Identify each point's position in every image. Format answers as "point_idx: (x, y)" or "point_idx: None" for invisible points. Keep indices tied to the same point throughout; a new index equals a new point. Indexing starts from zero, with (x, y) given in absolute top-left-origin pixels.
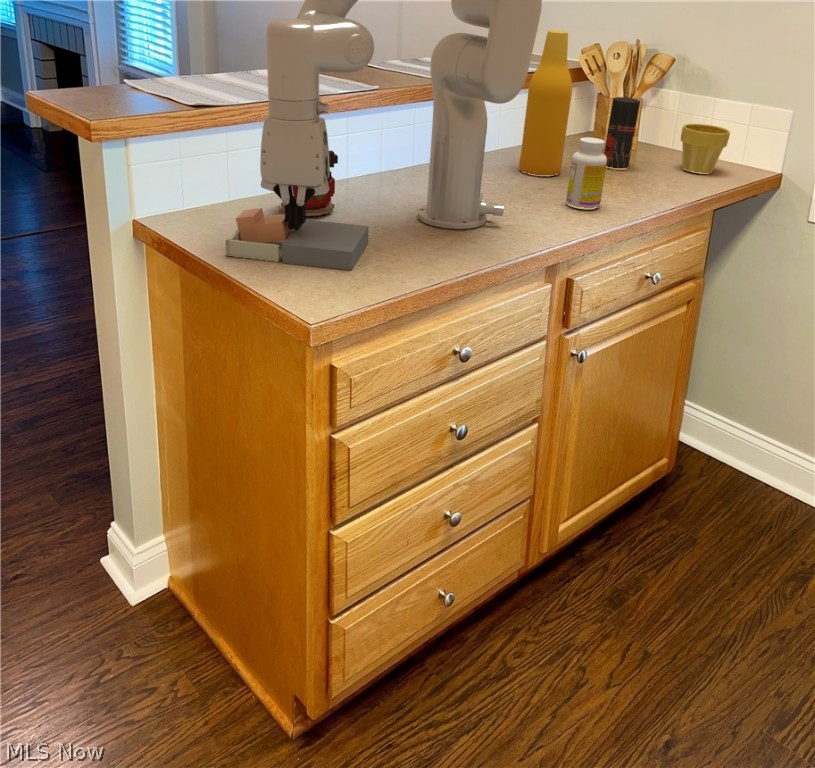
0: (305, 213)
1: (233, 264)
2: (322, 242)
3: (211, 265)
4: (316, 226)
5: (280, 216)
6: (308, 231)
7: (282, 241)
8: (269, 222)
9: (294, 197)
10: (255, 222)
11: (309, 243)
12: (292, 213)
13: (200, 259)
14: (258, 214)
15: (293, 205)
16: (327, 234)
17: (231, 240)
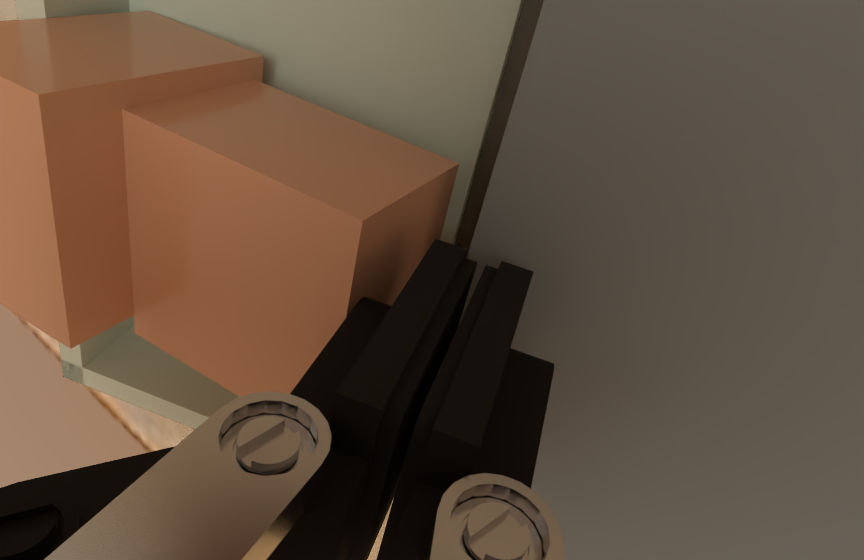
0: (542, 416)
1: None
2: (678, 545)
3: (114, 414)
4: (702, 180)
5: (287, 258)
6: (592, 314)
7: (395, 127)
8: (227, 365)
9: (343, 507)
10: (123, 312)
11: (573, 541)
12: (390, 503)
13: (43, 344)
14: (80, 222)
15: (370, 534)
16: (770, 404)
17: (91, 380)
